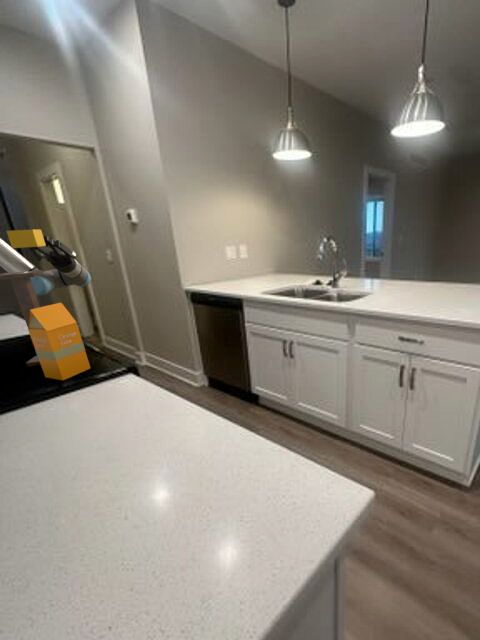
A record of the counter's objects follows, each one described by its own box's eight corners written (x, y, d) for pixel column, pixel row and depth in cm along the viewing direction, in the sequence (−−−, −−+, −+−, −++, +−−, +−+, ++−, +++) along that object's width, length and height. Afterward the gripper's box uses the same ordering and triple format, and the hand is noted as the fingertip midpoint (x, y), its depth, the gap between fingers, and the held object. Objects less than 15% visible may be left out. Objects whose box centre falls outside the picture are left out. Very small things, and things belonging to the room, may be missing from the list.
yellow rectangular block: (12, 248, 106) (6, 230, 104) (33, 245, 119) (28, 230, 117) (37, 246, 107) (32, 229, 106) (56, 244, 121) (51, 229, 119)
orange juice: (44, 377, 99) (19, 309, 91) (73, 365, 106) (52, 301, 99) (63, 380, 96) (39, 310, 88) (91, 368, 103) (71, 302, 96)
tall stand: (27, 366, 108) (-8, 275, 97) (36, 359, 114) (4, 273, 103) (62, 362, 110) (32, 272, 99) (69, 355, 116) (42, 270, 105)
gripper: (43, 256, 133) (3, 224, 111) (86, 253, 137) (57, 221, 114) (44, 275, 133) (4, 245, 110) (88, 271, 136) (58, 242, 113)
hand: (31, 233), depth 112 cm, fingers closed on yellow rectangular block, 2 cm apart
